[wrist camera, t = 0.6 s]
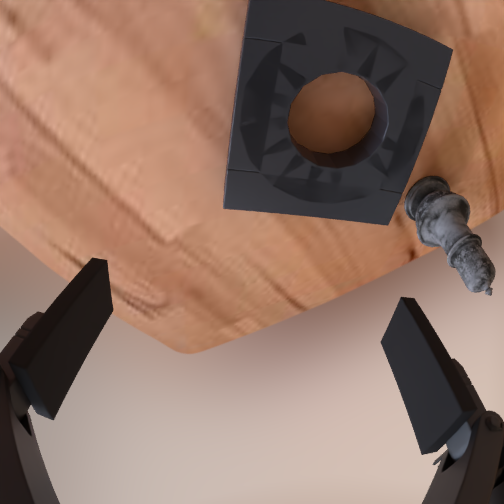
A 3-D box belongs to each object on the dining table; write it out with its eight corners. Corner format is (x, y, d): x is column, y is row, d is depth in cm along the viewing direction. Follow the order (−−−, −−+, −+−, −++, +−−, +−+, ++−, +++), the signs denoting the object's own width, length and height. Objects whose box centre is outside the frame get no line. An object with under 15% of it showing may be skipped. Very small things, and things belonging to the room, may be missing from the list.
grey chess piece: (393, 221, 28) (445, 323, 19) (413, 168, 24) (488, 266, 15) (438, 225, 28) (492, 316, 20) (459, 178, 25) (531, 266, 16)
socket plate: (250, -10, 15) (252, -14, 13) (435, 44, 16) (453, 49, 14) (223, 191, 25) (222, 209, 23) (378, 209, 27) (388, 226, 25)
